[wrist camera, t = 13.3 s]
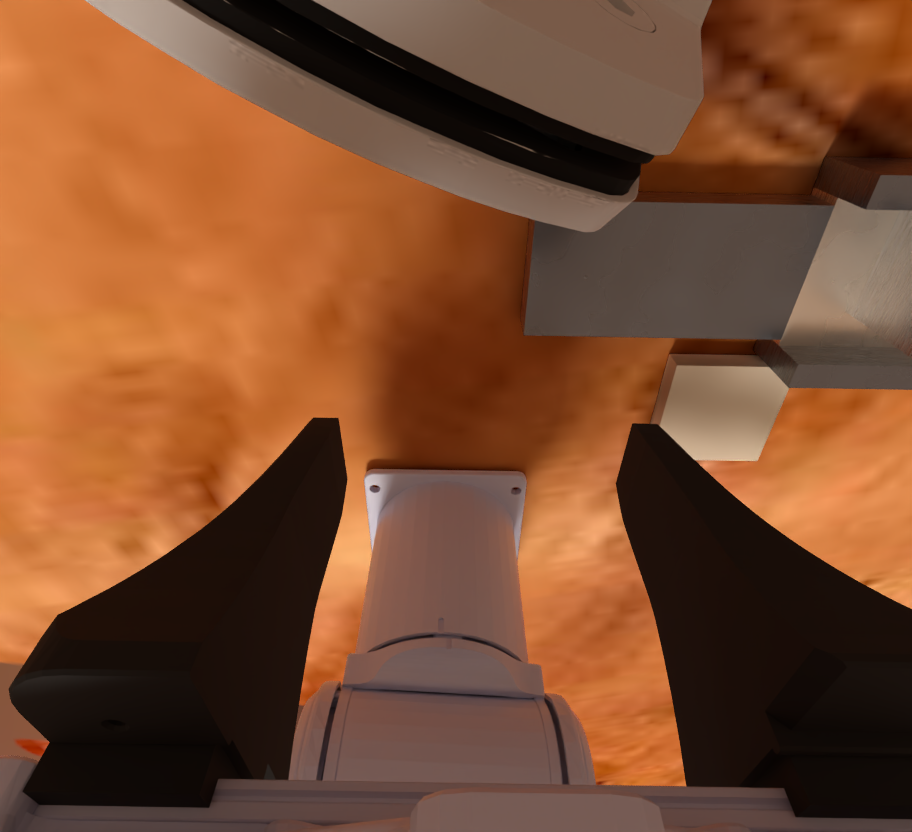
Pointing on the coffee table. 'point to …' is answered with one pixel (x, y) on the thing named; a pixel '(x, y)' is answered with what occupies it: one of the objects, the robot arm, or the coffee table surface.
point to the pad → (719, 405)
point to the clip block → (891, 289)
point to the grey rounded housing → (460, 86)
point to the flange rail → (734, 273)
